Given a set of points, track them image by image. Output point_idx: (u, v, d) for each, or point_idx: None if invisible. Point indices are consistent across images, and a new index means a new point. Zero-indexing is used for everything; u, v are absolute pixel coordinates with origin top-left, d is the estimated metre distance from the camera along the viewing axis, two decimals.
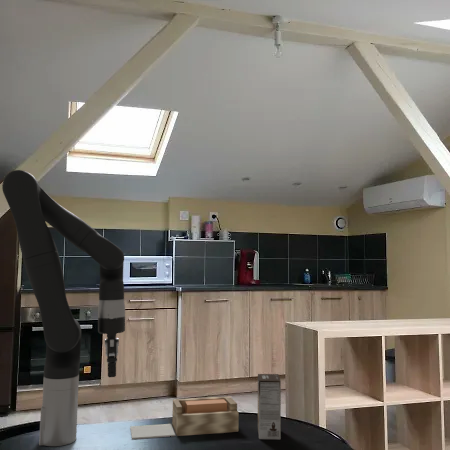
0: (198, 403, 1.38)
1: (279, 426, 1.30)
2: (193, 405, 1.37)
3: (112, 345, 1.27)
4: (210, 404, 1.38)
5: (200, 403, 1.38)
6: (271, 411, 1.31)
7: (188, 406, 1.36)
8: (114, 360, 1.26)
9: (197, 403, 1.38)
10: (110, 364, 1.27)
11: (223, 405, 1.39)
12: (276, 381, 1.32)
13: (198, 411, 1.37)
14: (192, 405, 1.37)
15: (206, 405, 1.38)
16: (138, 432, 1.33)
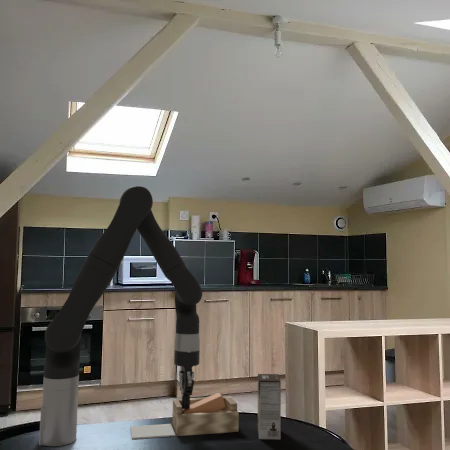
0: (194, 406, 1.37)
1: (279, 426, 1.30)
2: (190, 410, 1.36)
3: (189, 386, 1.34)
4: (206, 403, 1.38)
5: (196, 405, 1.38)
6: (271, 411, 1.31)
7: (185, 413, 1.36)
8: (189, 394, 1.36)
9: (193, 406, 1.38)
10: (185, 397, 1.37)
11: (219, 399, 1.39)
12: (276, 381, 1.32)
13: None
14: (189, 410, 1.36)
15: (202, 405, 1.37)
16: (138, 432, 1.33)
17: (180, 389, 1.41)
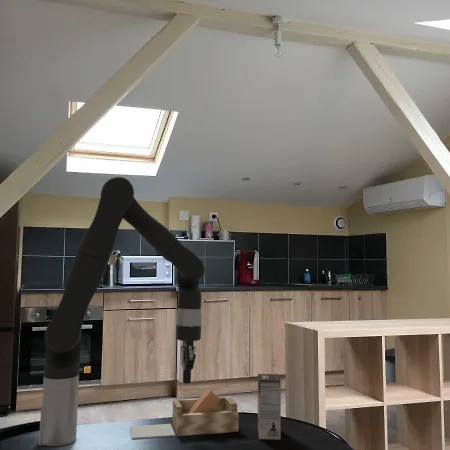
0: None
1: (279, 426, 1.30)
2: None
3: (191, 359, 1.35)
4: (200, 404, 1.37)
5: (192, 411, 1.37)
6: (271, 411, 1.31)
7: None
8: (191, 368, 1.37)
9: None
10: (186, 371, 1.38)
11: (210, 395, 1.38)
12: (276, 381, 1.32)
13: None
14: None
15: (197, 408, 1.37)
16: (138, 432, 1.33)
17: (181, 364, 1.42)
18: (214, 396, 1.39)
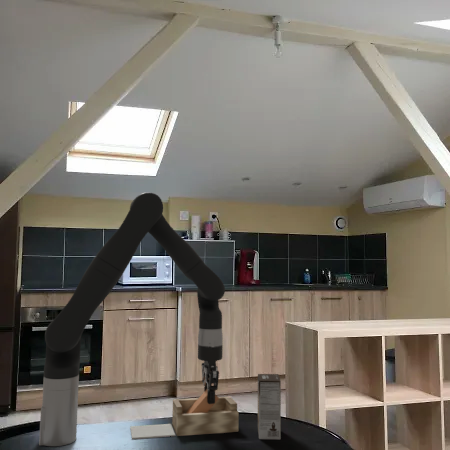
0: (190, 412, 1.37)
1: (279, 426, 1.30)
2: None
3: (214, 377, 1.35)
4: (200, 404, 1.38)
5: (192, 410, 1.38)
6: (271, 411, 1.31)
7: None
8: (215, 388, 1.36)
9: (190, 412, 1.38)
10: (210, 392, 1.38)
11: None
12: (276, 381, 1.32)
13: None
14: None
15: (197, 408, 1.37)
16: (138, 432, 1.33)
17: (202, 381, 1.45)
18: None
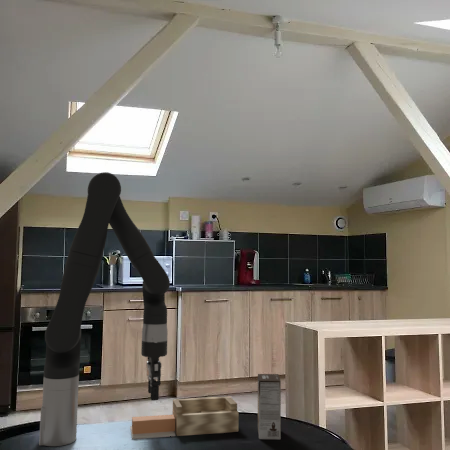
0: (144, 419, 1.34)
1: (279, 426, 1.30)
2: (139, 421, 1.33)
3: (156, 370, 1.31)
4: (157, 420, 1.34)
5: (147, 419, 1.34)
6: (271, 411, 1.31)
7: (134, 422, 1.32)
8: (158, 384, 1.30)
9: (144, 419, 1.34)
10: (153, 388, 1.32)
11: (171, 421, 1.35)
12: (276, 381, 1.32)
13: (144, 427, 1.33)
14: (138, 421, 1.33)
15: (153, 421, 1.34)
16: None
17: (147, 375, 1.42)
18: (173, 425, 1.35)
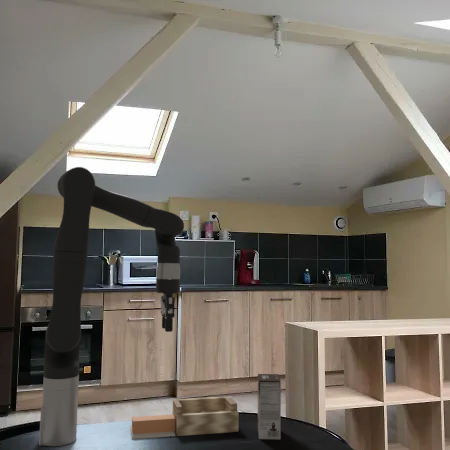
0: (144, 419, 1.34)
1: (279, 426, 1.30)
2: (139, 421, 1.33)
3: (171, 302, 1.40)
4: (157, 420, 1.34)
5: (147, 419, 1.34)
6: (271, 411, 1.31)
7: (134, 422, 1.32)
8: (172, 316, 1.40)
9: (144, 419, 1.34)
10: (168, 320, 1.41)
11: (171, 421, 1.35)
12: (276, 381, 1.32)
13: (144, 427, 1.33)
14: (138, 421, 1.33)
15: (153, 421, 1.34)
16: None
17: None
18: (173, 425, 1.35)
